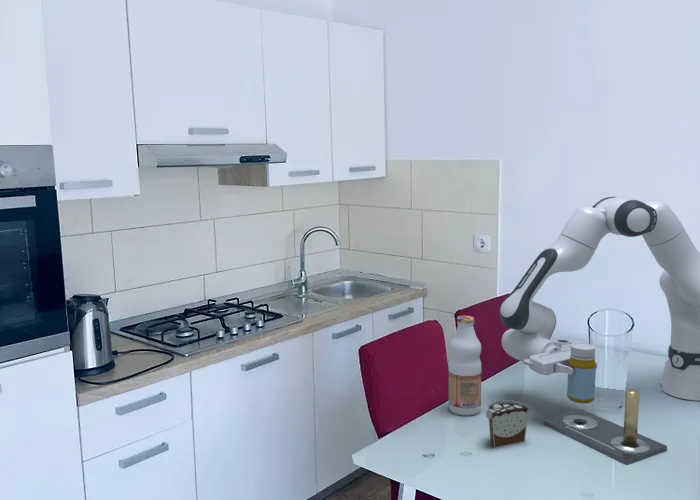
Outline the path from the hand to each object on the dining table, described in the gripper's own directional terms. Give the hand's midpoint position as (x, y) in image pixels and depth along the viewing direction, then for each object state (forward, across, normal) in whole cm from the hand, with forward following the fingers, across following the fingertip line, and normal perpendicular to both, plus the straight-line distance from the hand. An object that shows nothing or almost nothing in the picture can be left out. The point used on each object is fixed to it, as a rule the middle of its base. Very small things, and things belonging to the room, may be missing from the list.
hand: (584, 368), depth 173 cm
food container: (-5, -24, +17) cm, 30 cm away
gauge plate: (+7, 0, +17) cm, 18 cm away
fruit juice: (-26, -20, +17) cm, 37 cm away
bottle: (-1, 0, +9) cm, 9 cm away
